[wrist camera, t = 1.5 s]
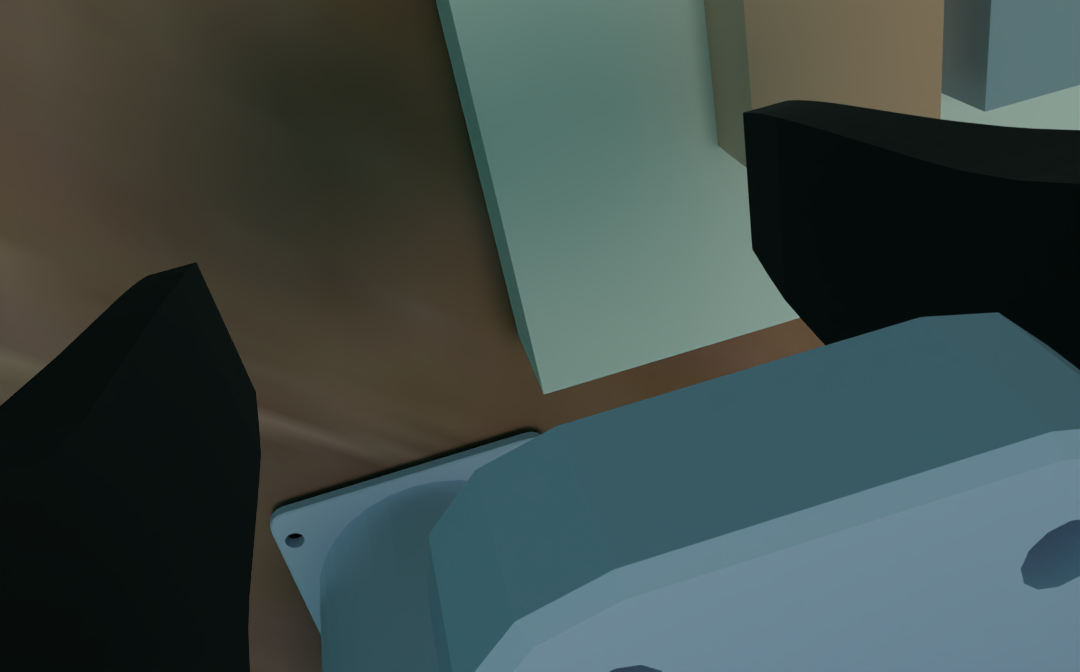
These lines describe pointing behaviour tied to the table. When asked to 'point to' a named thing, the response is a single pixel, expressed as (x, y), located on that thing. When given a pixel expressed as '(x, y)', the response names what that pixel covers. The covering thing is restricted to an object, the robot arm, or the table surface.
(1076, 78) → the tile
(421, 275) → the table surface
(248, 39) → the table surface
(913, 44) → the tile
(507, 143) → the large sage green panel
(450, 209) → the table surface
